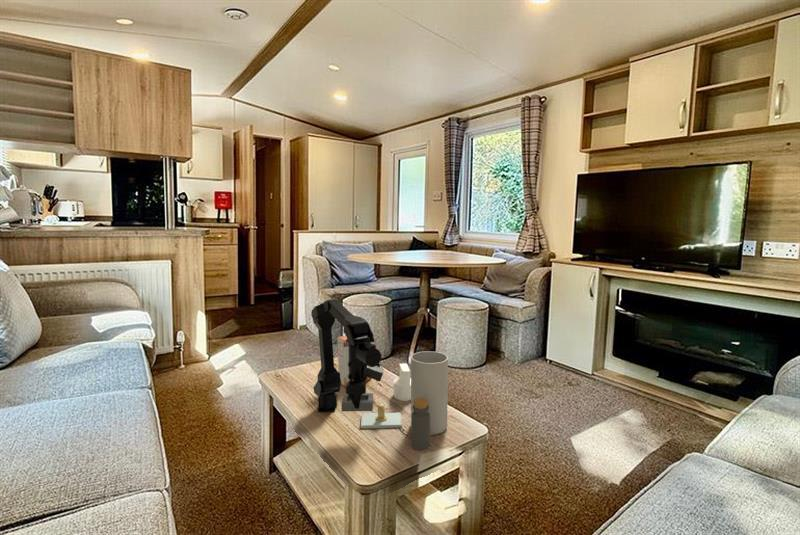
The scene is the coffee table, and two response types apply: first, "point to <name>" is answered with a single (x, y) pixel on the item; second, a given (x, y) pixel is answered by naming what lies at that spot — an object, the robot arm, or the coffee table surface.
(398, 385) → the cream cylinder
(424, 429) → the bottle
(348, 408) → the link
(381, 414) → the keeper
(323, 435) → the coffee table surface
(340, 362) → the cracker box
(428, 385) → the cylinder vase
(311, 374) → the coffee table surface
